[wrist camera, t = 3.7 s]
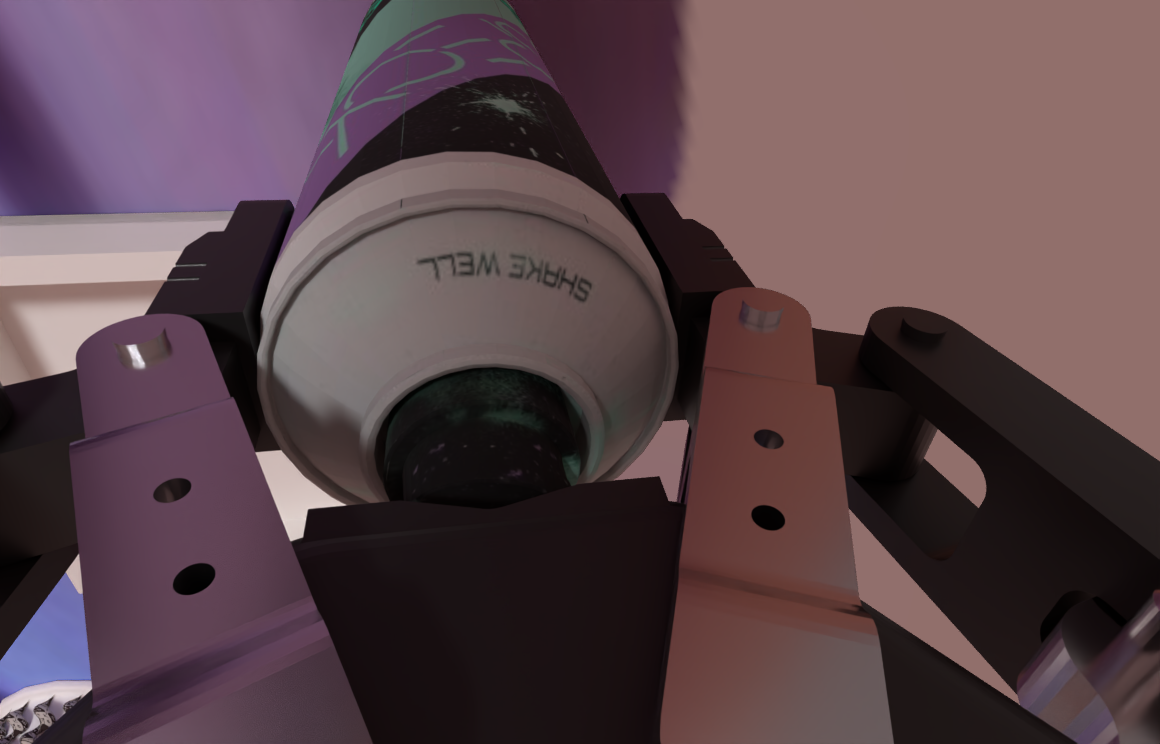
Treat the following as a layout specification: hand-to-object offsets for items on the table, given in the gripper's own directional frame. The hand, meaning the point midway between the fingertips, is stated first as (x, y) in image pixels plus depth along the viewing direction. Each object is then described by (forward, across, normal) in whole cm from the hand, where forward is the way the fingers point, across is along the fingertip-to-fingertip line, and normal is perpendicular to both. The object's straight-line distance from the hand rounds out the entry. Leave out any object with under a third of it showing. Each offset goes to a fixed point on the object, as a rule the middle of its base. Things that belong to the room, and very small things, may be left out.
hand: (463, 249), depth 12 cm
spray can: (+14, 0, 0) cm, 14 cm away
